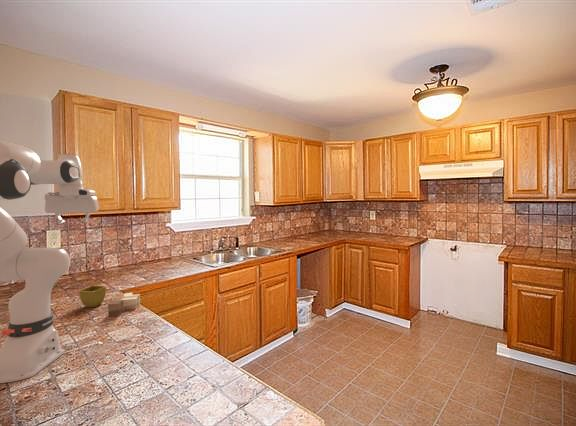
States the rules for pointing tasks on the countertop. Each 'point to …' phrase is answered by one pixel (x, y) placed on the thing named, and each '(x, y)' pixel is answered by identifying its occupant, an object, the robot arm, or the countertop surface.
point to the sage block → (127, 294)
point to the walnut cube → (115, 308)
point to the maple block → (131, 301)
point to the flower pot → (92, 295)
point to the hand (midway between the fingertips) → (73, 222)
